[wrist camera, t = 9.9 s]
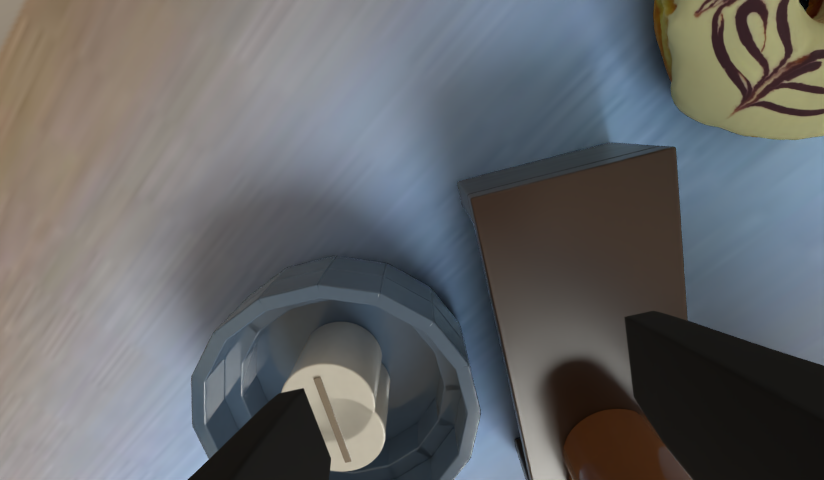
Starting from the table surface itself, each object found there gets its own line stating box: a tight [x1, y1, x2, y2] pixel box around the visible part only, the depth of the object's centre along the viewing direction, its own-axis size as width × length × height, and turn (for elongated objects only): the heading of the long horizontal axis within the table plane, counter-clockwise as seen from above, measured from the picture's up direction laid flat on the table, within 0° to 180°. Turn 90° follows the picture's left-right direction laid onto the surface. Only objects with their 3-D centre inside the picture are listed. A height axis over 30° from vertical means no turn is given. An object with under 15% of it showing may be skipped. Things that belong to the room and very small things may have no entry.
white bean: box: [281, 322, 390, 472], centre depth 18 cm, size 6×4×4 cm
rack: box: [457, 142, 688, 480], centre depth 17 cm, size 16×7×4 cm, turn 15°
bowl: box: [191, 256, 481, 480], centre depth 18 cm, size 12×12×4 cm
